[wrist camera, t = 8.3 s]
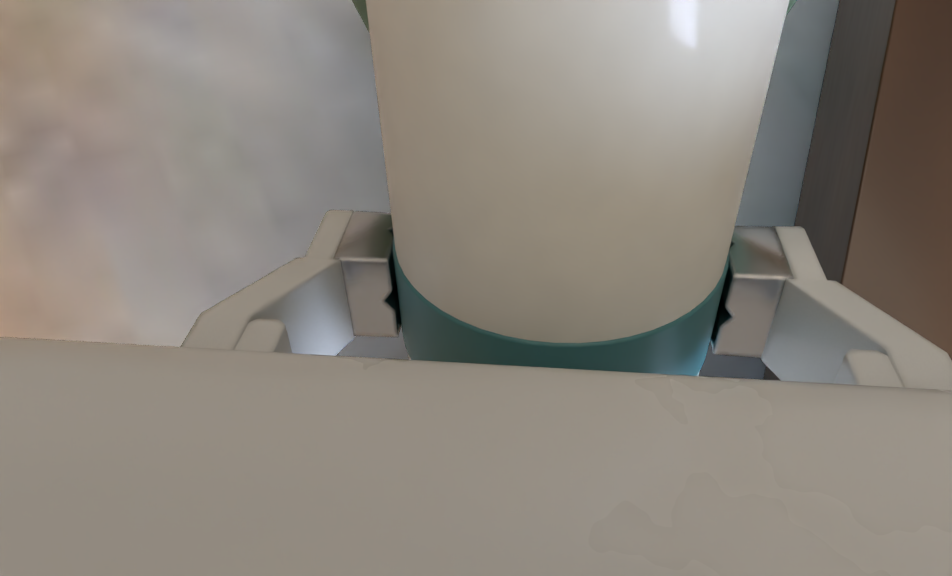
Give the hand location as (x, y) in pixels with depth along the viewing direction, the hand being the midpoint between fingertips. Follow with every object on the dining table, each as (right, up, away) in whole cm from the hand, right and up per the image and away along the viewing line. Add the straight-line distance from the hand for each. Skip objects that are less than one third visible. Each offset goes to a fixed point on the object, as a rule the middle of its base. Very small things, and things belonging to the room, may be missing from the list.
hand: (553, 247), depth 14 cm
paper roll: (+1, -1, +6) cm, 6 cm away
